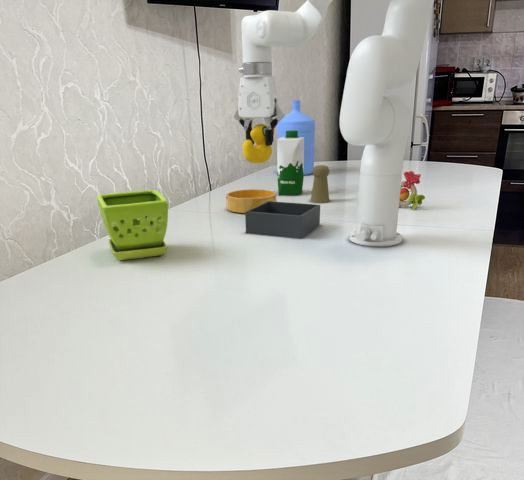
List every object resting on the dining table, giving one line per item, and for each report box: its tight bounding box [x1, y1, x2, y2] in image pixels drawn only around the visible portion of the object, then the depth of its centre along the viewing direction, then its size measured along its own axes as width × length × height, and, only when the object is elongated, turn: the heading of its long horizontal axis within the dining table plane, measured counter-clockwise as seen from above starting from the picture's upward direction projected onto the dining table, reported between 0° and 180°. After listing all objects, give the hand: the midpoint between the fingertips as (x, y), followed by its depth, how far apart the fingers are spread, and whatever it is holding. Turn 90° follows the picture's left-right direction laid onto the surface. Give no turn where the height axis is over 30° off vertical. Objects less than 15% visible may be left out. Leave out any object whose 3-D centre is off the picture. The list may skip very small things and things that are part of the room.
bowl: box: [225, 188, 277, 214], centre depth 161 cm, size 15×15×4 cm
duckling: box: [242, 123, 275, 164], centre depth 146 cm, size 11×5×10 cm, turn 132°
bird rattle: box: [399, 170, 426, 210], centre depth 156 cm, size 6×11×9 cm
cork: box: [310, 164, 330, 204], centre depth 167 cm, size 6×6×11 cm
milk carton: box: [276, 131, 305, 196], centre depth 178 cm, size 9×9×20 cm
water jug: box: [276, 99, 316, 176], centre depth 217 cm, size 16×16×28 cm
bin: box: [244, 201, 321, 239], centre depth 137 cm, size 14×15×6 cm
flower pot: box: [96, 189, 169, 261], centre depth 118 cm, size 14×14×13 cm
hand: (259, 144), depth 145 cm, fingers closed on duckling, 5 cm apart
